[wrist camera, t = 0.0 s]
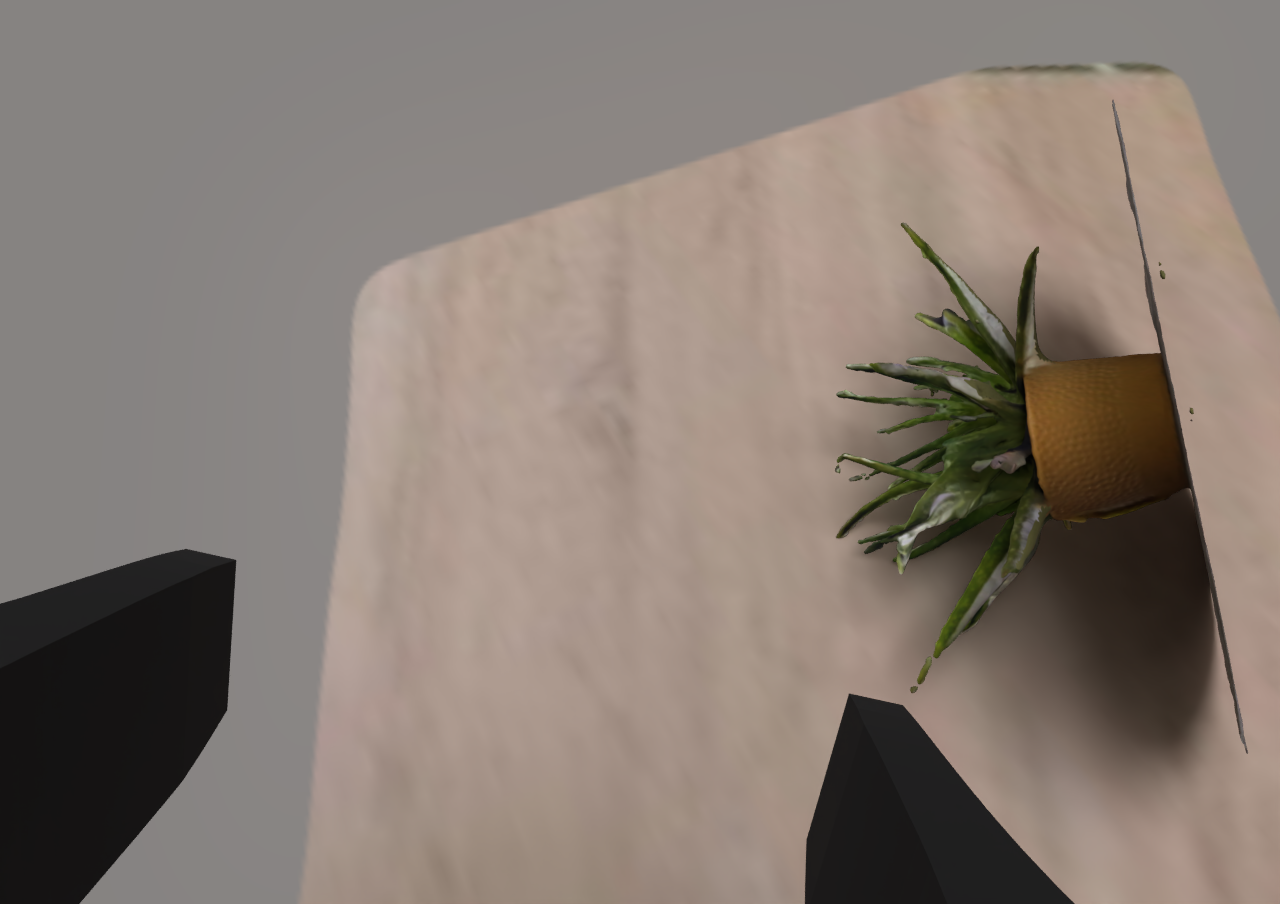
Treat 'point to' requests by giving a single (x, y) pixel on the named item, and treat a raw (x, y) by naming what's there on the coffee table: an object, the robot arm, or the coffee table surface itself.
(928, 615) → the coffee table surface
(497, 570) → the coffee table surface
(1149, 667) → the coffee table surface
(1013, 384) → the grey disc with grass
